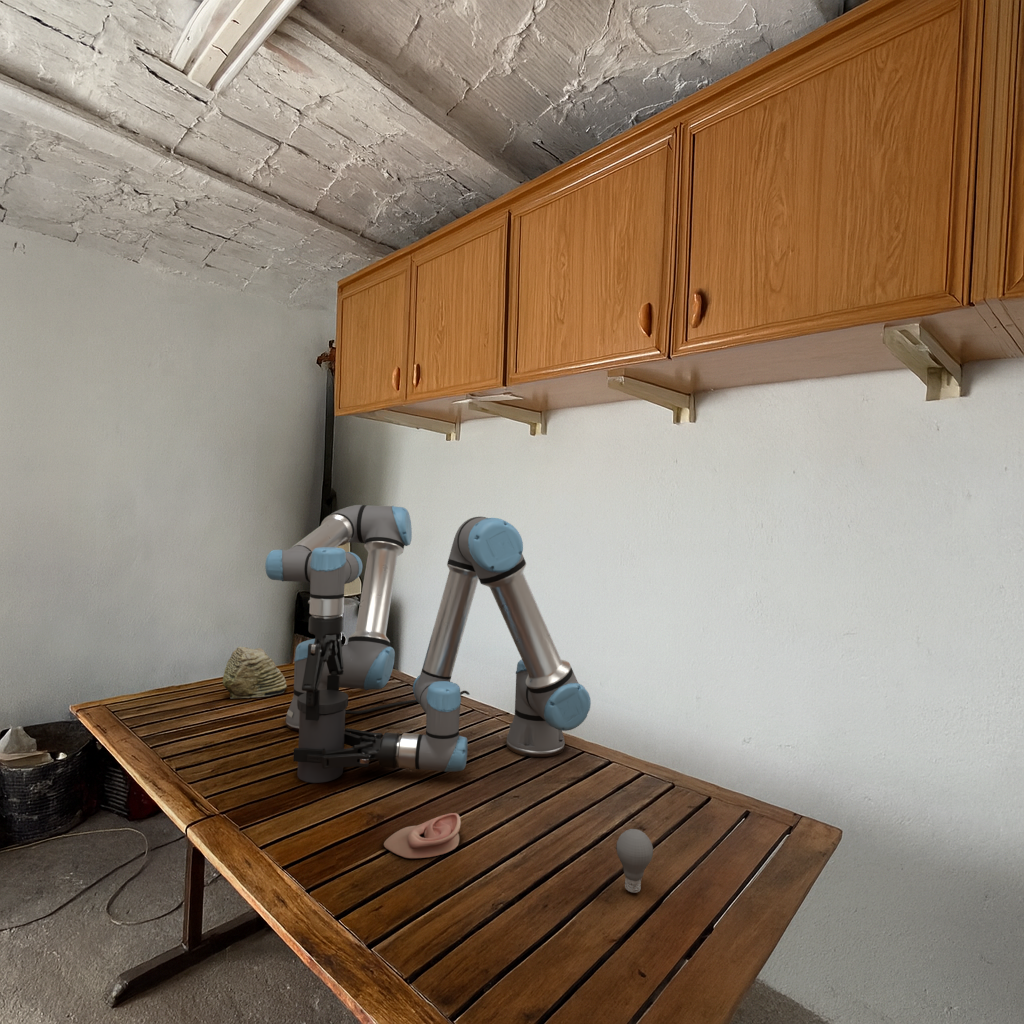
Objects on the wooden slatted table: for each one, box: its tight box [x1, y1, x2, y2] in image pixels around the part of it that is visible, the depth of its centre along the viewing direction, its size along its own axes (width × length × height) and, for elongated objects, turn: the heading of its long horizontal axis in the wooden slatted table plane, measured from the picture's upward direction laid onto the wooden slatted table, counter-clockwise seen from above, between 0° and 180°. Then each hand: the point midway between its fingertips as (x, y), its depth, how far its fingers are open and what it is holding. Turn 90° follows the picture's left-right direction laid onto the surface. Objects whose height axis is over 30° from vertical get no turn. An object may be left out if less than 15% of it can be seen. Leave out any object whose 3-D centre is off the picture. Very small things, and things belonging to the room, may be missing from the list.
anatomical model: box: [383, 812, 462, 859], centre depth 117 cm, size 13×4×12 cm
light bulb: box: [615, 828, 654, 894], centre depth 106 cm, size 6×6×10 cm
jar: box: [296, 708, 346, 784], centre depth 145 cm, size 10×10×17 cm
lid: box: [297, 690, 349, 714], centre depth 145 cm, size 11×11×2 cm
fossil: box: [222, 646, 288, 699], centre depth 198 cm, size 9×18×15 cm, turn 132°
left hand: (322, 710), depth 145 cm, fingers closed on lid, 11 cm apart
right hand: (302, 745), depth 145 cm, fingers closed on jar, 10 cm apart
